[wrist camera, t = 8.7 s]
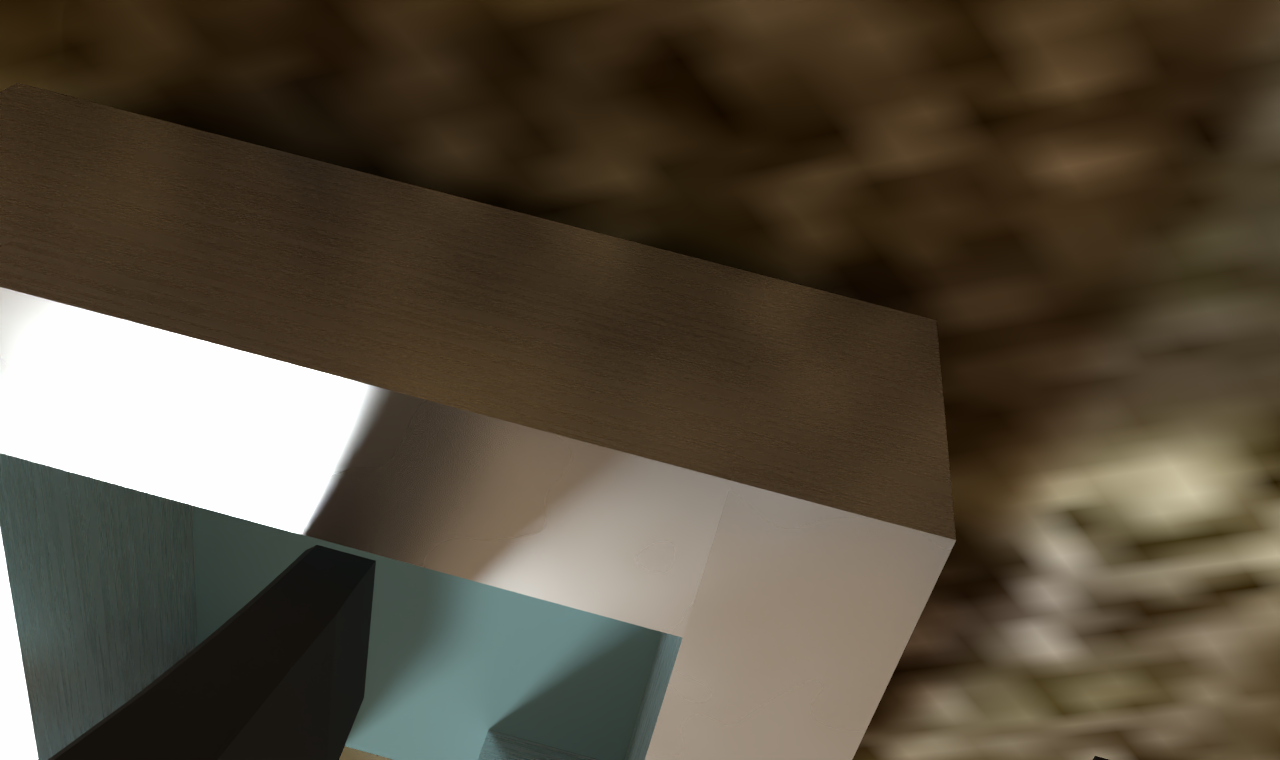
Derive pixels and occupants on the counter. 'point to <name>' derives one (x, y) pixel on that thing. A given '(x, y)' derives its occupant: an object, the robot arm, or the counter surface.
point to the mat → (451, 652)
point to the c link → (443, 430)
